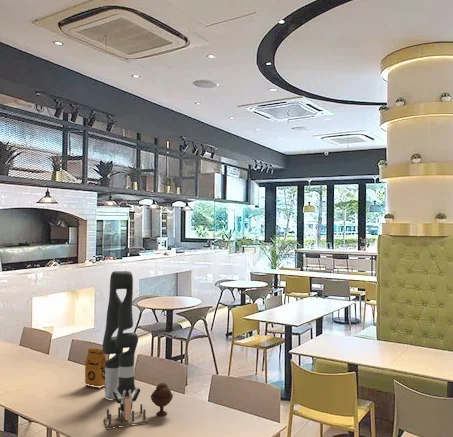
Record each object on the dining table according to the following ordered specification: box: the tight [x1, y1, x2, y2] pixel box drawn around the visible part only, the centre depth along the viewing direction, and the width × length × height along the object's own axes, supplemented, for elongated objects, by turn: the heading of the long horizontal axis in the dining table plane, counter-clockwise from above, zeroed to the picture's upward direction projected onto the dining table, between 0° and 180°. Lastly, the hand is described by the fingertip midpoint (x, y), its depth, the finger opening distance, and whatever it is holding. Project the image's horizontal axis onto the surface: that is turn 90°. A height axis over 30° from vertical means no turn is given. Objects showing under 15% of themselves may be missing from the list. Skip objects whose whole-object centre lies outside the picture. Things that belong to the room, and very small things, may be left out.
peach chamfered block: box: [121, 396, 132, 420], centre depth 221 cm, size 10×3×10 cm, turn 22°
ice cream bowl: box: [150, 382, 174, 417], centre depth 229 cm, size 11×11×15 cm
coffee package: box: [84, 347, 107, 386], centre depth 270 cm, size 10×12×22 cm
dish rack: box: [103, 403, 149, 429], centre depth 221 cm, size 12×19×6 cm, turn 112°
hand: (126, 410), depth 221 cm, fingers closed on peach chamfered block, 2 cm apart
